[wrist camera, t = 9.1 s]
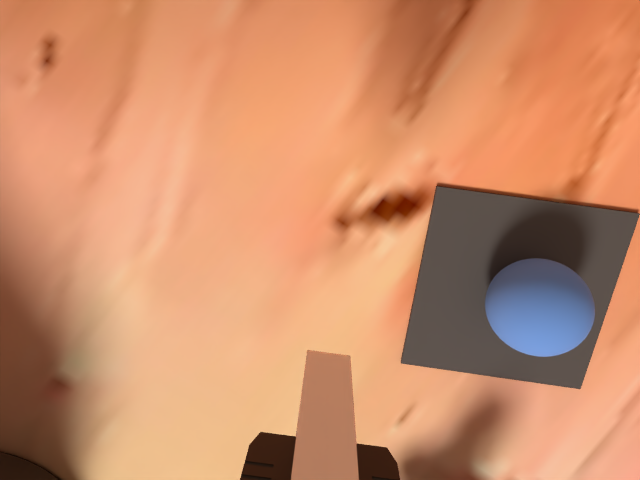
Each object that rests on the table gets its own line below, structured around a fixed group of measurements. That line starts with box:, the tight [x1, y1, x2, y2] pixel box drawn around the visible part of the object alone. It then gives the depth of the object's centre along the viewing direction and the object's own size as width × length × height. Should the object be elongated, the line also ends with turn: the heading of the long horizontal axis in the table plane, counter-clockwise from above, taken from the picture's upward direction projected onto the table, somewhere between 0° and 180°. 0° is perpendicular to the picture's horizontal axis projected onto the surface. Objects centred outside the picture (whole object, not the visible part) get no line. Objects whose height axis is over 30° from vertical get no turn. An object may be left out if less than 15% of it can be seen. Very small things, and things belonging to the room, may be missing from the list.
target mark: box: [401, 186, 640, 389], centre depth 26 cm, size 12×12×1 cm
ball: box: [485, 258, 595, 357], centre depth 23 cm, size 6×6×6 cm
